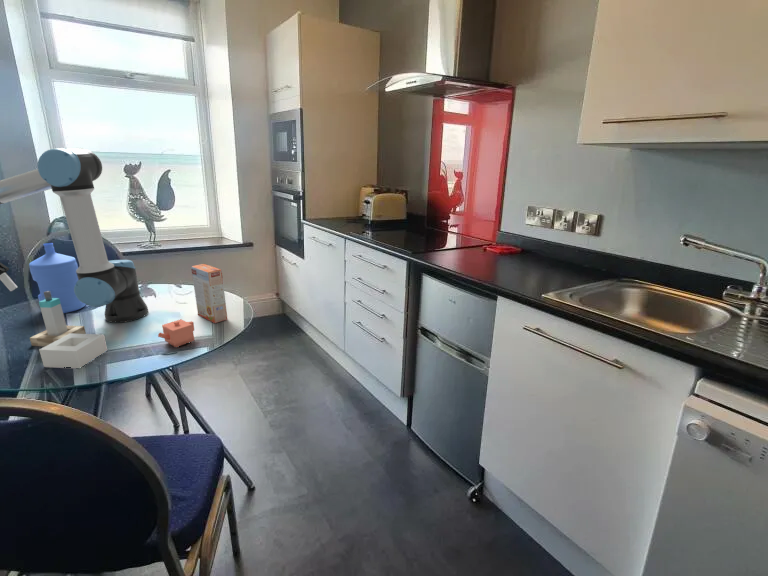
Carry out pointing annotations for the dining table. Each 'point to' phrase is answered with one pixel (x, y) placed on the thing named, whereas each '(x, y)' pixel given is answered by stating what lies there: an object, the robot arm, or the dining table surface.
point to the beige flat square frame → (46, 339)
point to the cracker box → (209, 292)
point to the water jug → (57, 278)
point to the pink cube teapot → (178, 332)
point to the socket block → (73, 350)
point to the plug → (53, 315)
